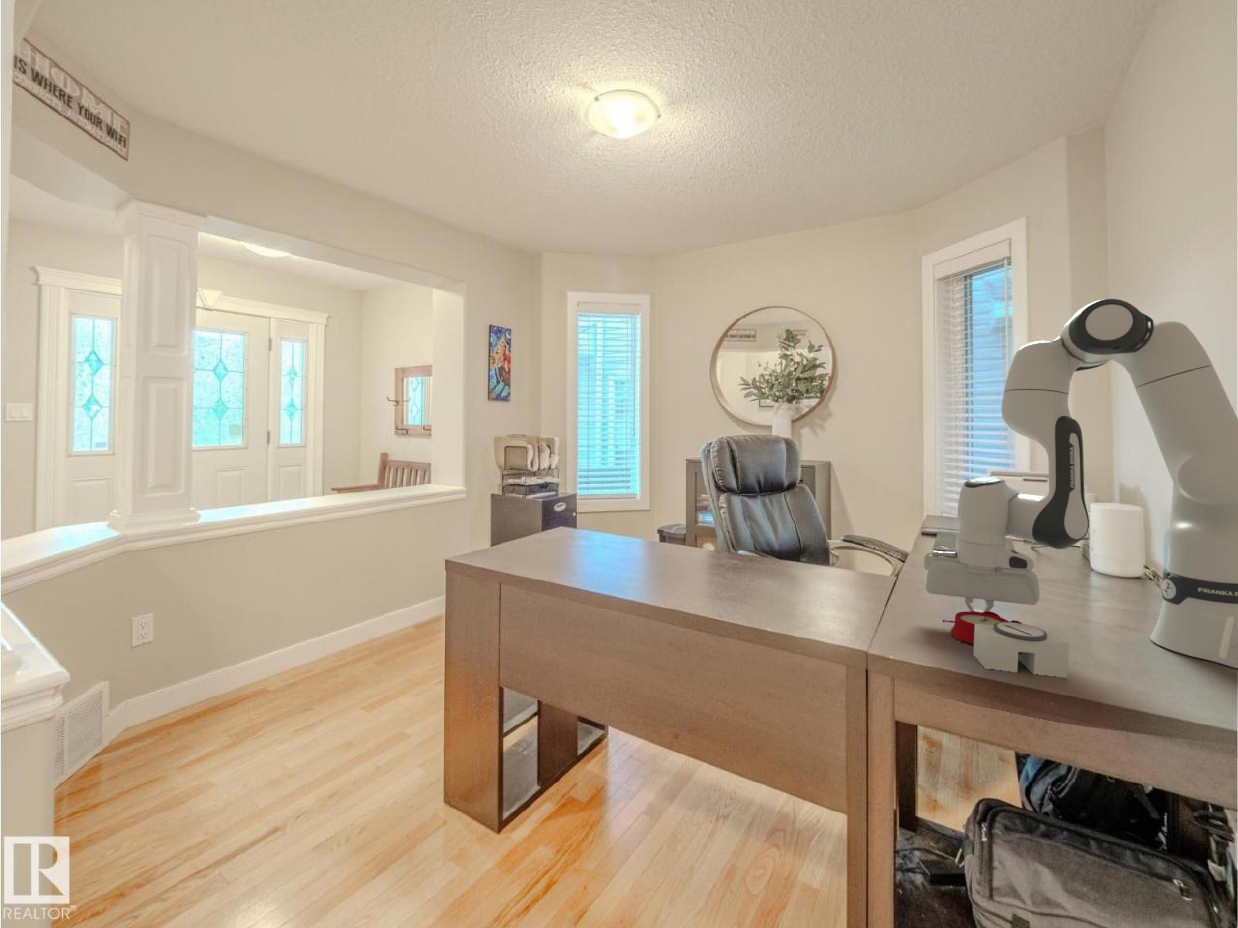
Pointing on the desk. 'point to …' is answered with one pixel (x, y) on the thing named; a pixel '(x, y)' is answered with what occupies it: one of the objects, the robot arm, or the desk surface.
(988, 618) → the alarm clock
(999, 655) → the dial gauge
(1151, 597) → the desk surface
